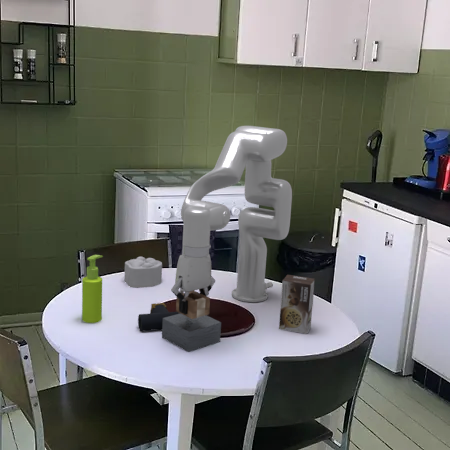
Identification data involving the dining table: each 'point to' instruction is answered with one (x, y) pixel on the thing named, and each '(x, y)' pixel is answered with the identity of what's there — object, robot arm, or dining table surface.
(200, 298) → the brown small box
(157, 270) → the lumpy-topped squat cylinder
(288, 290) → the brown grey upright box
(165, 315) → the pipe connector
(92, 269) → the soap dispenser
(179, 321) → the block
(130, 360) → the dining table surface
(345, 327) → the dining table surface
